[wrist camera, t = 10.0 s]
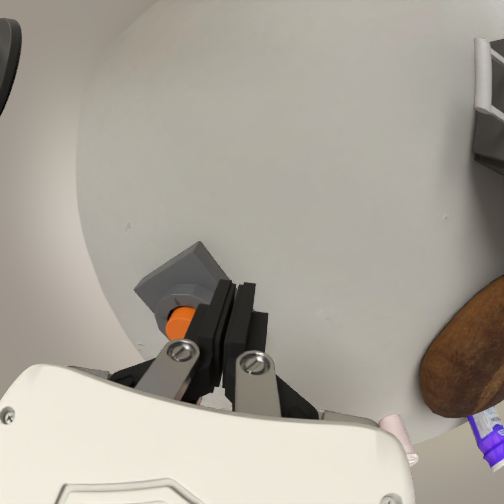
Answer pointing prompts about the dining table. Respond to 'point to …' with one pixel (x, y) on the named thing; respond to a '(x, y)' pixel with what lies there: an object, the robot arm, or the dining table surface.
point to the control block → (181, 283)
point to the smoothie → (399, 435)
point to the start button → (179, 322)
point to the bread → (468, 358)
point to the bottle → (489, 436)
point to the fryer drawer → (489, 99)
